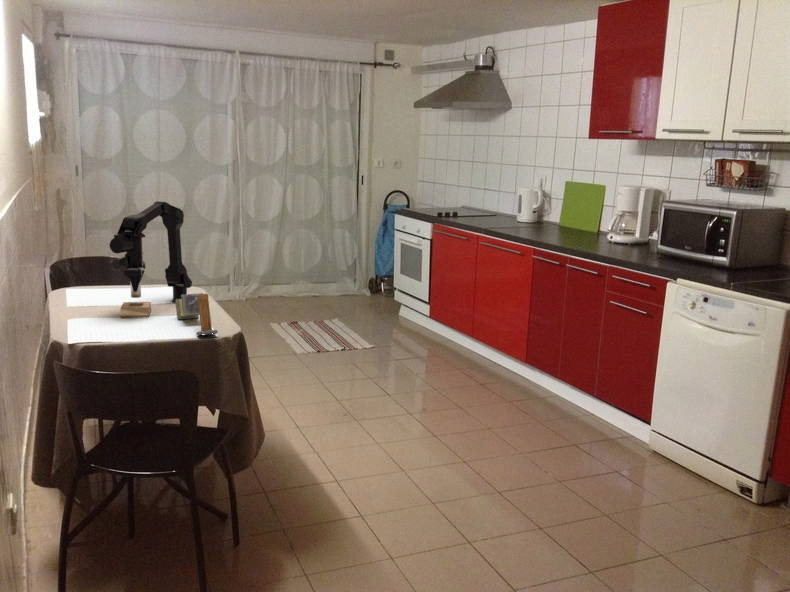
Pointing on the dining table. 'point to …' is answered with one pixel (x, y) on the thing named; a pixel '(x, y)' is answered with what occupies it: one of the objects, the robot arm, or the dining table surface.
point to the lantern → (195, 310)
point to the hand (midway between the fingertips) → (135, 290)
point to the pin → (138, 292)
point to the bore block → (135, 309)
